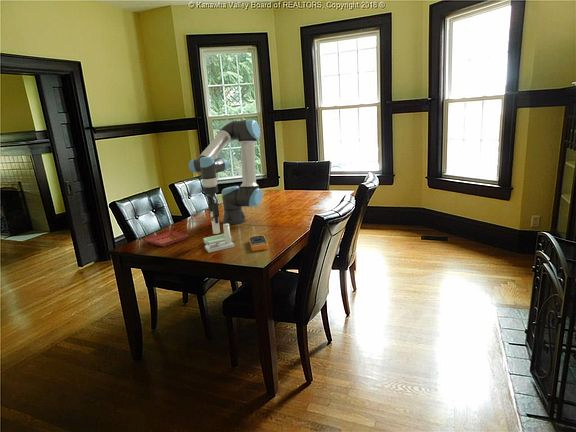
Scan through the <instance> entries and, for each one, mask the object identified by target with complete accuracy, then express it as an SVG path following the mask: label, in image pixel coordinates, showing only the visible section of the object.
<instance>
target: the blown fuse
mask: <svg viewBox="0 0 576 432" xmlns="http://www.w3.org/2000/svg"><path fill="white" fill-rule="evenodd" d="M209 214H211V215H210V221H211V227H212V234H214V235H216V234H217V235H219V234H220V233H221V228H219V229H215V228H214V220H213V218H212V217H213V211H211V212H210V213H209ZM219 217H220V216H219ZM219 217H218V218H219ZM219 219H220V218H219Z"/></svg>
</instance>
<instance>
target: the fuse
mask: <svg viewBox="0 0 576 432" xmlns="http://www.w3.org/2000/svg"><path fill="white" fill-rule="evenodd" d="M222 227H223V234H224V236H225V243H226V244H230V243H231V237H232V236H231V231H230V230H231V229H230V225H229V224H228V223H226V224H222Z"/></svg>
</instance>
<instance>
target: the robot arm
mask: <svg viewBox="0 0 576 432" xmlns="http://www.w3.org/2000/svg"><path fill="white" fill-rule="evenodd" d="M260 137H261V128H260V125H259V123H258V122H257V121H256V120H255V119H243V120H233V121H230V122H228V123H226V124H224V126H222V127H221V128H220V129H219V131H217V133H216V136H215V137H214V139H212V141H211V142H210V143H209V144H208V145H207V147H205V149H204V150H203V151H202V152H201V154H199V156H198V157H197V158H194V159H190V161H189V162H188V169H189V170H190V172H191V173H196V174H197V173H198V174H200V173H201V179H202V180H201V183H202V185H203V194H205V195H207V196H206V199H207V205H208V211H209V212H208V213H209V214H210V212H211V211H213V217H212V218H213V220H214V228H215V229H219V228H220V227H221V226H220V220H219V219H220V218H218V217H220V211H219V201H218V199H217V196H216V194H218V193H219V188H218V179H217V177H218V176H217V174H218V173H222V172H224V171H227V170H228V168H229V161H228V160H227V159H226V157H218V155H219V154H220V153H221V151H222V150H223V149H224V147H225V146H226V145H229V144H230V143H231V142H232V141H238V143H239V144H240V152H241V153H240V155H241V157H240V158H241V180H242V183H241V184H240V185H233V186H229V187H225V188H223V189H222V190H221V199H222V205H223V216H222V223H223V224H226V223H228V224H229V226H230V225H238V224H243V223H244V222H246V219H247V218H246V215H245V214H244V211H243V207H247V208H248V207H250V208H254V207H255V208H256V207H258V206H260V205H261V203H262V201H263V190H262V189H261V188H260V187H259V184H258V183H257V175H256V172H257V171H256V148H255V147H256V144H257V143H258V139H260ZM217 157H218V158H217ZM210 216H211V214H210ZM223 224H222V225H223ZM220 229H221V228H220Z"/></svg>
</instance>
